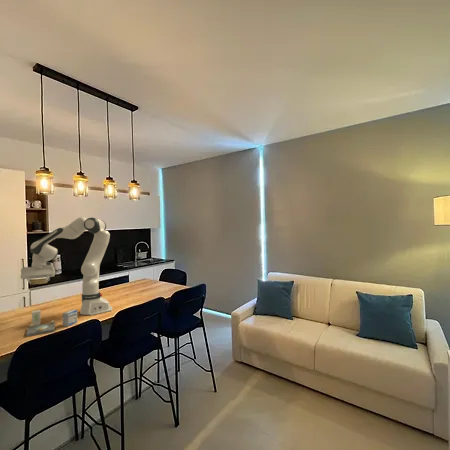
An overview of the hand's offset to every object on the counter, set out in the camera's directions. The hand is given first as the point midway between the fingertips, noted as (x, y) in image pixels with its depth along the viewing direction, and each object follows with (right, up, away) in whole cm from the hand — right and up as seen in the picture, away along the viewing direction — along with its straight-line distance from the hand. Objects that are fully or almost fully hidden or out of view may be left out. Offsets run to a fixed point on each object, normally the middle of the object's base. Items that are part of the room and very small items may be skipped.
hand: (37, 282), depth 183 cm
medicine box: (+30, -26, -12) cm, 41 cm away
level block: (+7, -25, -11) cm, 29 cm away
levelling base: (+18, -25, -22) cm, 38 cm away
